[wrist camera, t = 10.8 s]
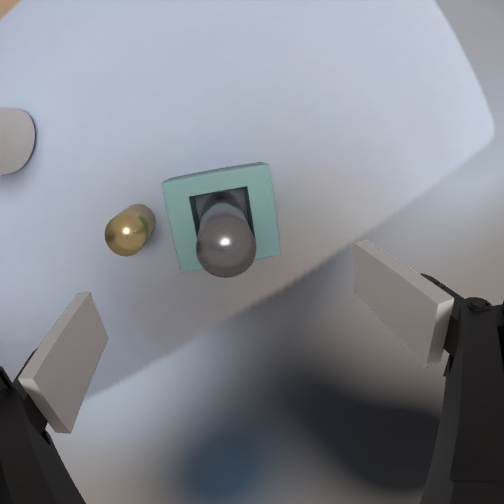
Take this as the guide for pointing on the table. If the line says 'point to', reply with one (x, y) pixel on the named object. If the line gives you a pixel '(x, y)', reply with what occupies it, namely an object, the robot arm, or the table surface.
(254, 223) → the hole block
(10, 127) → the beverage can
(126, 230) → the short pin
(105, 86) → the table surface
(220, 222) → the long pin
